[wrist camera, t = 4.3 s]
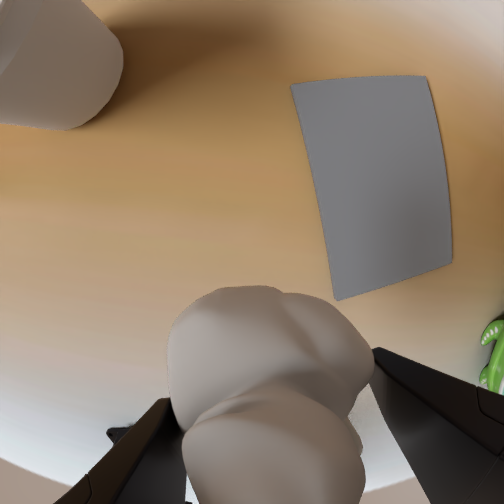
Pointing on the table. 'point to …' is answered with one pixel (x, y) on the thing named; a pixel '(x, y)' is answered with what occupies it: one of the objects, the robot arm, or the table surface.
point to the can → (55, 63)
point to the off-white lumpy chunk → (268, 397)
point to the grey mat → (376, 178)
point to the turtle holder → (494, 358)
